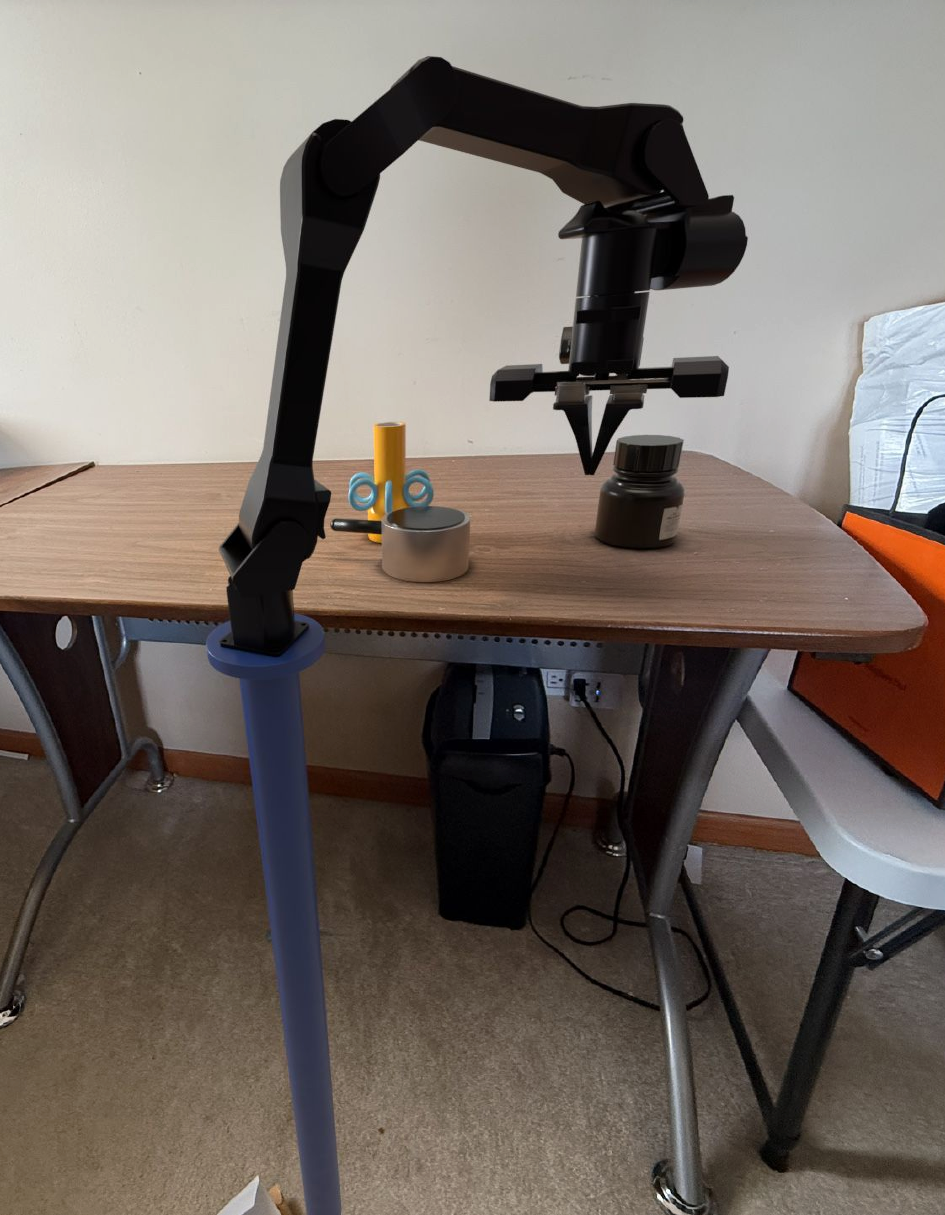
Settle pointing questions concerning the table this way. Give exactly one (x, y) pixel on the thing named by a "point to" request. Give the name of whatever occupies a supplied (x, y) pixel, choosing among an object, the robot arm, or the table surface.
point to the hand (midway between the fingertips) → (589, 474)
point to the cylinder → (389, 477)
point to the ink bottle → (642, 493)
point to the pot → (418, 541)
